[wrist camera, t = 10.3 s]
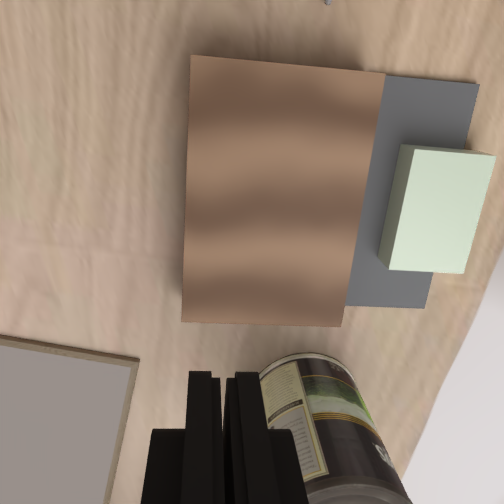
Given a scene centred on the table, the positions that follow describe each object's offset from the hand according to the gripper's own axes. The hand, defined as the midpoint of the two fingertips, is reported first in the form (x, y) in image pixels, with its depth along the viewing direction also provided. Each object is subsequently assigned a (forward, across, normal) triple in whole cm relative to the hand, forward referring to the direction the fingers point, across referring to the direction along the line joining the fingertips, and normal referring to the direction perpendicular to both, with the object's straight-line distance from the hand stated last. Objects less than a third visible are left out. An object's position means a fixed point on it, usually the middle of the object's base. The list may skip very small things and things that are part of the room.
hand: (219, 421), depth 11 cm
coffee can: (+25, -9, +19) cm, 33 cm away
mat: (+24, -15, 0) cm, 29 cm away
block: (+22, -17, 0) cm, 27 cm away
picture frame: (+25, +21, +22) cm, 40 cm away
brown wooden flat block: (+25, -4, 0) cm, 25 cm away
